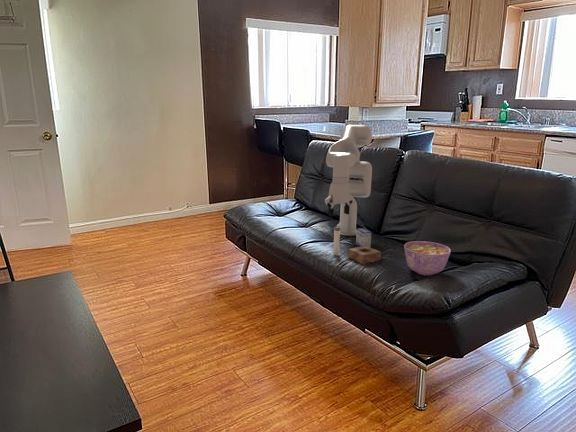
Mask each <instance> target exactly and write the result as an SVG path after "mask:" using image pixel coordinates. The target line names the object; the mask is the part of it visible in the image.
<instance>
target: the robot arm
mask: <svg viewBox="0 0 576 432" xmlns="http://www.w3.org/2000/svg"><path fill="white" fill-rule="evenodd" d="M372 140H373V134H372V130H371V128H370V127H369V126H368V125H366V124H348V125H345V126H344V127H343V129H342V131H341V132H340V139H339V140H338V141H336V142H334V143H333V144H331V145H330V146H329V148H328V151H327V154H326V157H325V163H326V166H327V167H329V168H332V181H331V183H330V185H329V190H328V196H327V197H326V198H325V199H324V203H325V205H326V206H327V208H328V212H327V213H328V216H329V217H332V218H333V217H334V215H335V214H334V213H335V212H334V206H336V205H340V211H339V213H340V215H339V222H338V224H336V227H340V236H341V235H342V236H348V237H349V236H351V237H353V236H356V233H357V215H358V202H357V200H356V199H355V198H368V197H370V195H371V191H372V176H373V166H372V164H371V163H370V162H369V161H361V160H360V158H361V153H360V150H359V148H358V147H357V146H369V145H370V144H371V143H372ZM351 178H354V179H351ZM355 179H362V180H355Z"/></svg>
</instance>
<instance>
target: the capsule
mask: <svg viewBox="0 0 576 432" xmlns="http://www.w3.org/2000/svg"><path fill="white" fill-rule="evenodd" d="M340 238H341V235H340V227H337V226H334V228H333V250H332V252H333V254H332V255H333V256H335V255H338V256H339V255H340V241H341V239H340Z"/></svg>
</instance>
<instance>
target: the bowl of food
mask: <svg viewBox="0 0 576 432" xmlns="http://www.w3.org/2000/svg"><path fill="white" fill-rule="evenodd" d="M403 247H404V253H405V254H404V255H405V259H406V264H407V266H408V268H410V269H411V270H412V271H413V272H415V273H416V274H419V275H422V276H433V275H436V274H439V273H441V272H442V271H443V270H444V269H445V267H446V265H447V262H448V261H449V257H450V255H451V252H452V251H451V248H450V247H449V246H447V245H444V244H443V243H437V242H432V241H425V240H424V241H422V240H415V241H414V240H413V241H407V242H406V243H405V244H404V245H403Z"/></svg>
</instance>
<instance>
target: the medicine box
mask: <svg viewBox="0 0 576 432" xmlns="http://www.w3.org/2000/svg"><path fill="white" fill-rule="evenodd" d="M356 230H357V233H356V235H355V236H356V237H355V238H356V239H355V245H357V246H358V247H361V246H368V247H370V248H371V244H372V243H371V242H372V231H370V230H368V229H366V228H356Z"/></svg>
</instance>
